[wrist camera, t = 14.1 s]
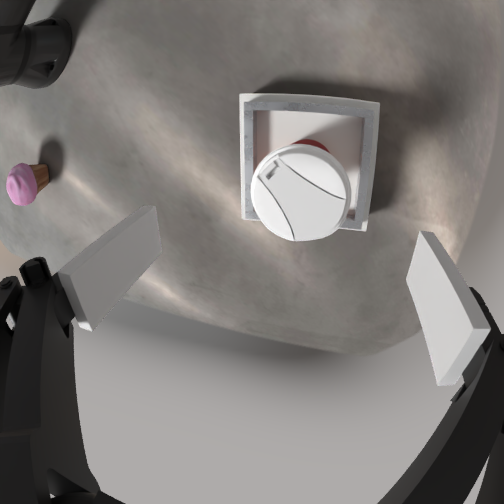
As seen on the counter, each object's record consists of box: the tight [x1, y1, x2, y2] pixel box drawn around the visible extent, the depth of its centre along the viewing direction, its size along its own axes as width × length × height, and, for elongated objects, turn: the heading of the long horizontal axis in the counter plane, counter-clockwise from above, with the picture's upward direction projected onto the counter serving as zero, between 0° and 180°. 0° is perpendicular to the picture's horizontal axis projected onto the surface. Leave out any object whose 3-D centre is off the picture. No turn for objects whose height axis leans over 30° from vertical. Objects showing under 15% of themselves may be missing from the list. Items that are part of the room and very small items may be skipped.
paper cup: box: [251, 139, 351, 241], centre depth 26 cm, size 8×8×14 cm
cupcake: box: [6, 163, 49, 206], centre depth 44 cm, size 9×9×10 cm
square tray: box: [240, 94, 380, 231], centre depth 33 cm, size 16×16×7 cm
